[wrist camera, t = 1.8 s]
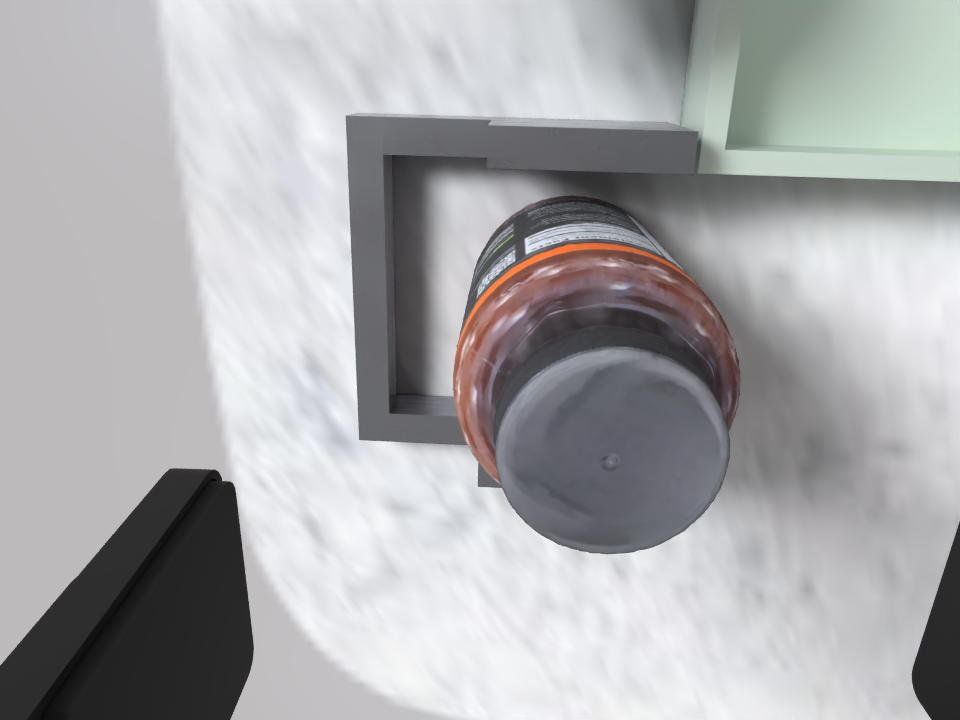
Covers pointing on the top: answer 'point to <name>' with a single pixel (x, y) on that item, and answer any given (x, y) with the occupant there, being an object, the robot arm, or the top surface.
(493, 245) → the supplement bottle
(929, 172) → the tray
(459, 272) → the top surface
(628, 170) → the bracket
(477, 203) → the top surface
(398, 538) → the top surface
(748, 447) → the top surface
